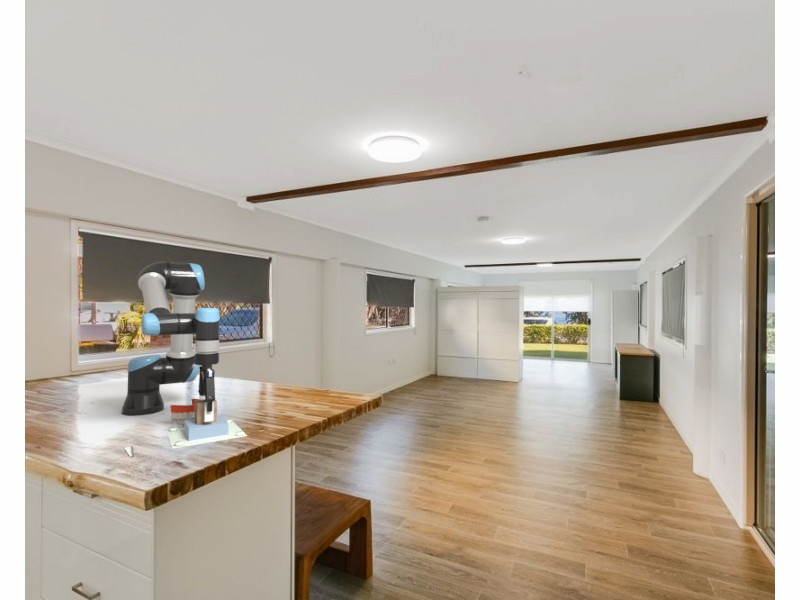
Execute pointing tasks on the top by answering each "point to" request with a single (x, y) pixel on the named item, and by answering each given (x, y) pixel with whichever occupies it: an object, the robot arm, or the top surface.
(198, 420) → the walnut block
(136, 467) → the top surface
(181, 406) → the toy
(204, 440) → the build plate
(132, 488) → the top surface
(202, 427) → the base brick
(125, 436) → the top surface
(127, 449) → the page
